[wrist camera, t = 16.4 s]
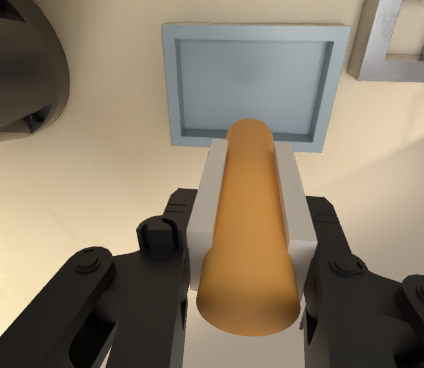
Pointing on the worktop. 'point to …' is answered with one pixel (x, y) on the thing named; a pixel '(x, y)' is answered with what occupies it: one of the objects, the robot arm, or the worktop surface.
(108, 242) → the worktop surface
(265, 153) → the pin
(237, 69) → the tray
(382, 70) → the pin socket
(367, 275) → the robot arm
